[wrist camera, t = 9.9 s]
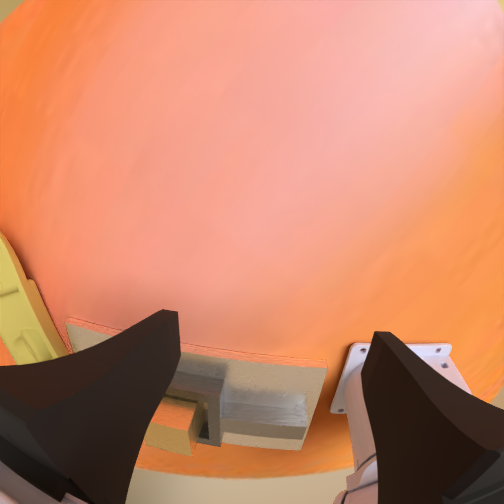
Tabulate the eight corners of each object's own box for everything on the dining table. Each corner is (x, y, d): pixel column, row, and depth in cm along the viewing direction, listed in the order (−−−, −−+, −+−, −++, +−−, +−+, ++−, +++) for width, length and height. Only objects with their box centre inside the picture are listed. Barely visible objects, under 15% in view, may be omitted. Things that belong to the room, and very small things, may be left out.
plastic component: (78, 389, 24) (12, 399, 21) (85, 349, 30) (26, 361, 27) (-5, 202, 16) (-69, 236, 13) (26, 190, 23) (-35, 218, 20)
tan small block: (203, 385, 22) (187, 430, 17) (205, 414, 23) (192, 456, 19) (158, 376, 23) (136, 418, 18) (164, 406, 24) (146, 445, 19)
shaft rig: (326, 359, 21) (330, 386, 18) (300, 443, 25) (300, 465, 22) (70, 317, 23) (52, 333, 20) (98, 402, 27) (86, 419, 24)
